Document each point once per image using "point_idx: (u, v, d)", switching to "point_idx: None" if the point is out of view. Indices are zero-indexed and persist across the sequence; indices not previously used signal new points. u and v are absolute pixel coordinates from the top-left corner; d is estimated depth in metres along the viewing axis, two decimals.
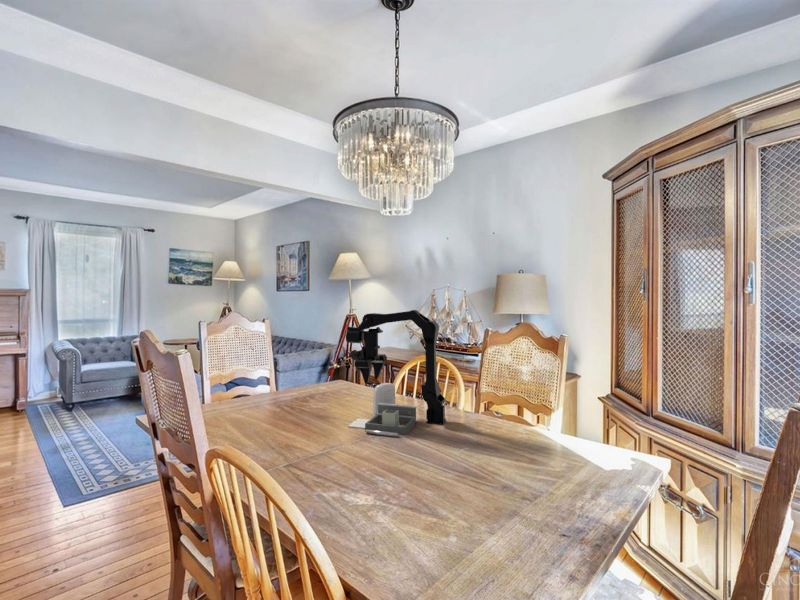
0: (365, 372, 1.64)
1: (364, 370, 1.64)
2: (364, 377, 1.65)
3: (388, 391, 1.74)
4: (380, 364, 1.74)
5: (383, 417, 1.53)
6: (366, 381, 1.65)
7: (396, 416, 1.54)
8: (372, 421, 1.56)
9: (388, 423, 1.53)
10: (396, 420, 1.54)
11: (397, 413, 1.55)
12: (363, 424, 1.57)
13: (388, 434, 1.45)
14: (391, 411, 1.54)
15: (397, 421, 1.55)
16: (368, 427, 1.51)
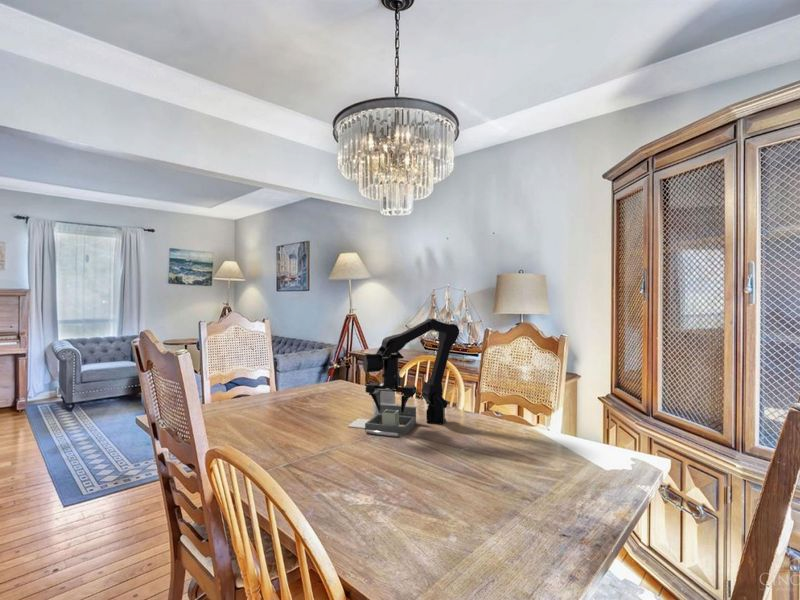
0: None
1: None
2: None
3: (388, 391, 1.74)
4: None
5: (383, 417, 1.53)
6: None
7: (396, 416, 1.54)
8: (372, 421, 1.56)
9: (388, 423, 1.53)
10: (396, 420, 1.54)
11: (397, 413, 1.55)
12: (363, 424, 1.57)
13: (388, 434, 1.45)
14: (391, 411, 1.54)
15: (397, 421, 1.55)
16: (368, 427, 1.51)
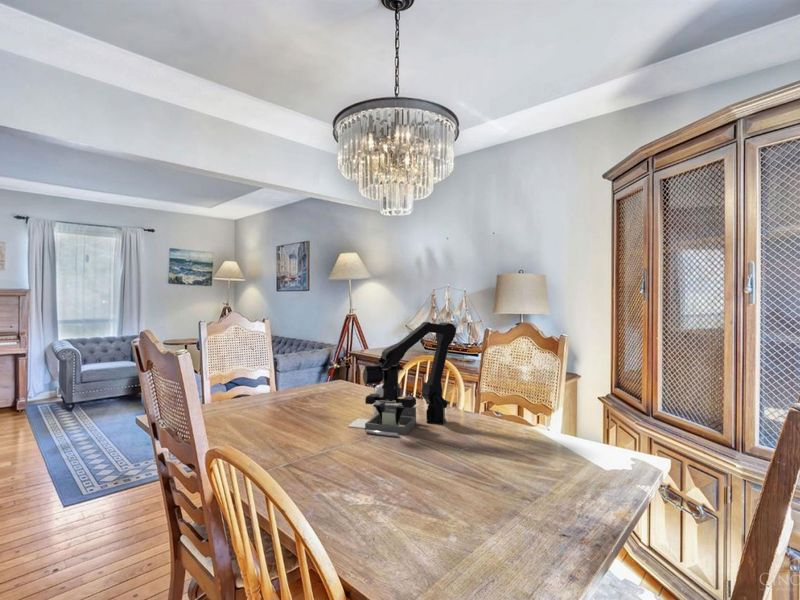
0: None
1: None
2: None
3: None
4: None
5: (383, 417, 1.53)
6: None
7: None
8: (372, 421, 1.56)
9: (388, 423, 1.53)
10: None
11: None
12: (363, 424, 1.57)
13: (388, 434, 1.45)
14: (391, 411, 1.54)
15: None
16: (368, 427, 1.51)
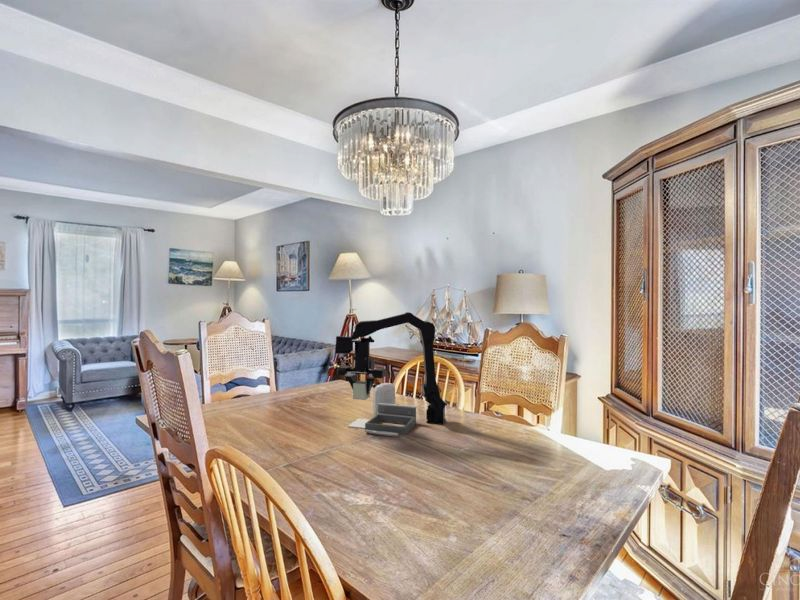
0: None
1: None
2: None
3: (388, 391, 1.74)
4: None
5: (354, 387, 1.57)
6: None
7: None
8: (372, 421, 1.56)
9: (359, 393, 1.56)
10: None
11: None
12: (363, 424, 1.57)
13: (388, 434, 1.45)
14: (362, 382, 1.58)
15: None
16: (368, 427, 1.51)
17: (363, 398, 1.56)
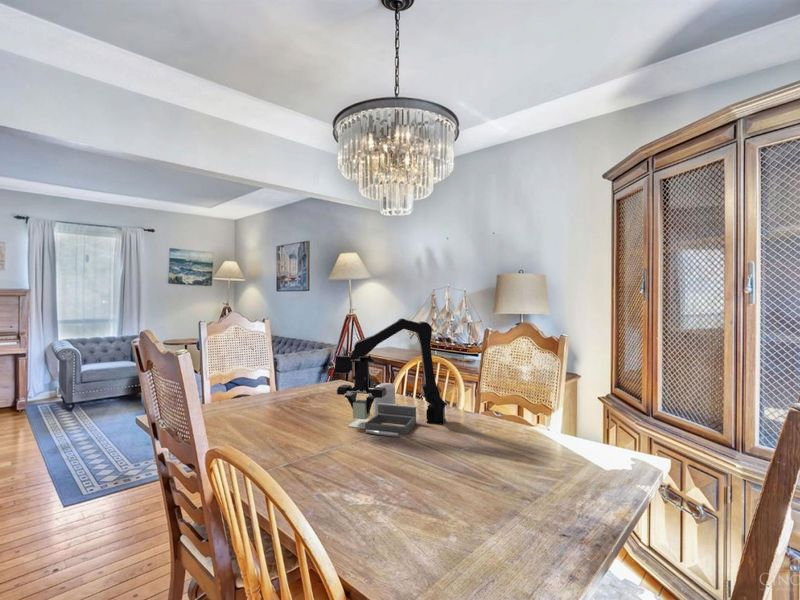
0: None
1: None
2: None
3: (388, 391, 1.74)
4: None
5: (354, 407, 1.57)
6: None
7: None
8: (372, 421, 1.56)
9: (359, 413, 1.56)
10: None
11: None
12: (363, 424, 1.57)
13: (388, 434, 1.45)
14: (362, 401, 1.58)
15: None
16: (368, 427, 1.51)
17: (363, 417, 1.56)
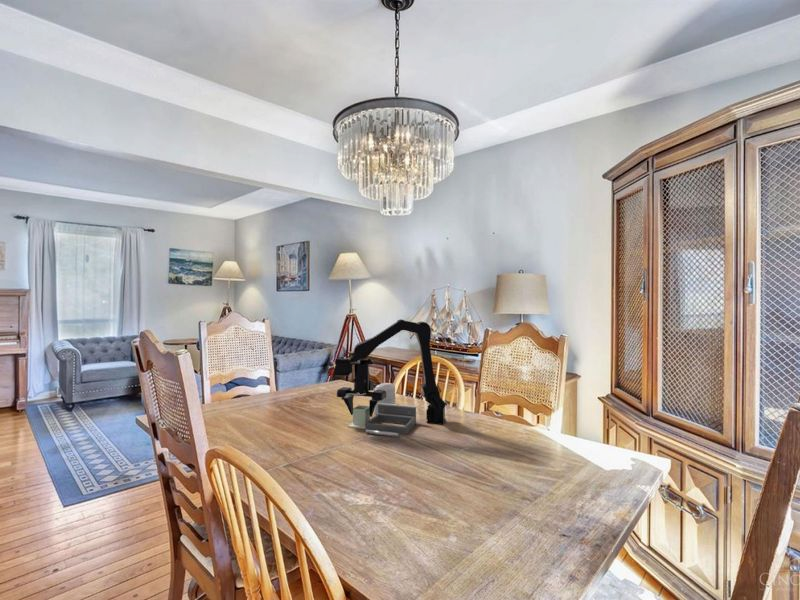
0: None
1: None
2: None
3: (388, 391, 1.74)
4: None
5: (354, 413, 1.57)
6: None
7: (367, 412, 1.58)
8: (372, 421, 1.56)
9: (359, 419, 1.56)
10: (367, 416, 1.58)
11: (368, 409, 1.59)
12: None
13: (388, 434, 1.45)
14: (362, 407, 1.58)
15: (368, 417, 1.59)
16: (368, 427, 1.51)
17: (363, 423, 1.56)
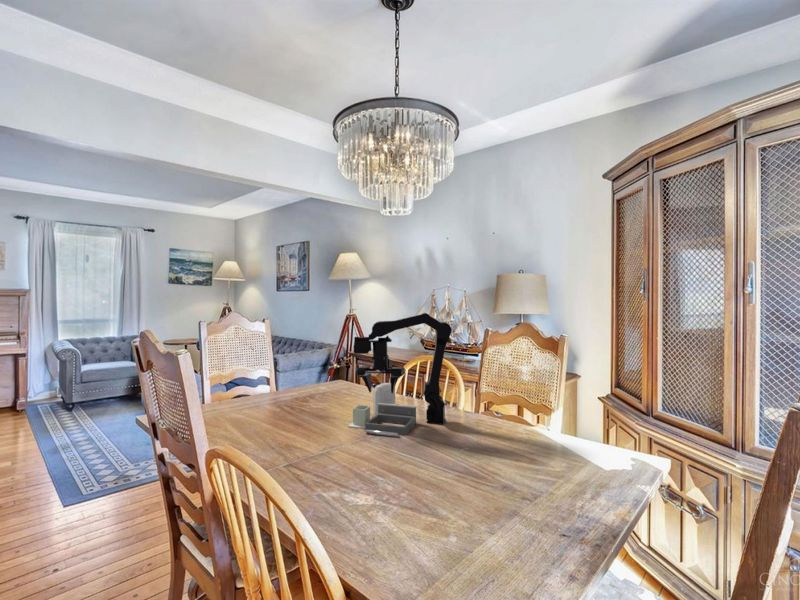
0: None
1: None
2: None
3: (388, 391, 1.74)
4: None
5: (354, 413, 1.57)
6: None
7: (367, 412, 1.58)
8: (372, 421, 1.56)
9: (359, 419, 1.56)
10: (367, 416, 1.58)
11: (368, 409, 1.59)
12: None
13: (388, 434, 1.45)
14: (362, 407, 1.58)
15: (368, 417, 1.59)
16: (368, 427, 1.51)
17: (363, 423, 1.56)
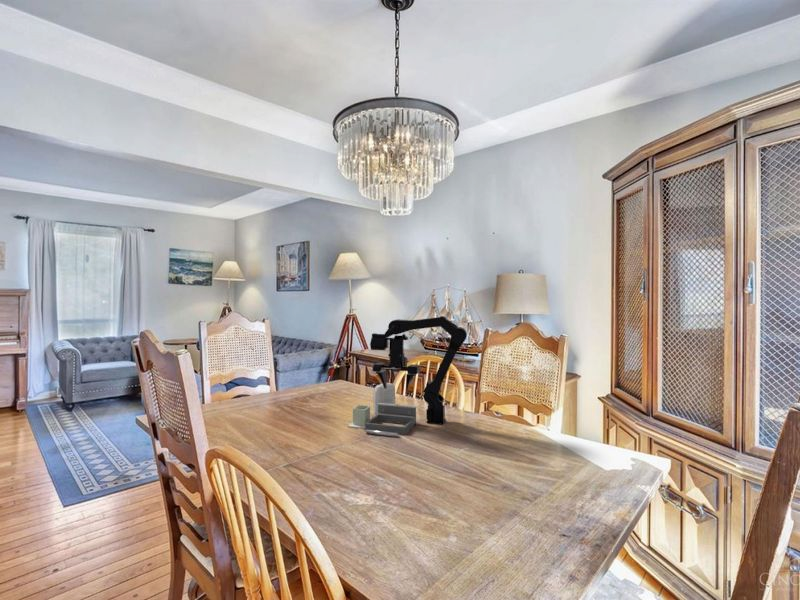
0: None
1: None
2: None
3: (388, 391, 1.74)
4: None
5: (354, 413, 1.57)
6: None
7: (367, 412, 1.58)
8: (372, 421, 1.56)
9: (359, 419, 1.56)
10: (367, 416, 1.58)
11: (368, 409, 1.59)
12: None
13: (388, 434, 1.45)
14: (362, 407, 1.58)
15: (368, 417, 1.59)
16: (368, 427, 1.51)
17: (363, 423, 1.56)
